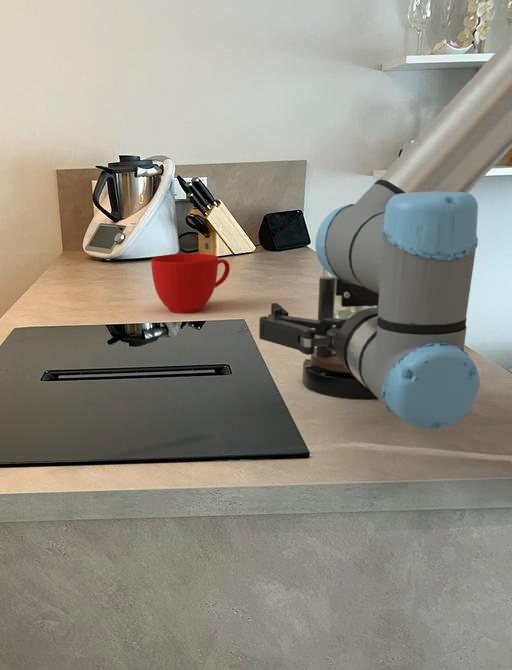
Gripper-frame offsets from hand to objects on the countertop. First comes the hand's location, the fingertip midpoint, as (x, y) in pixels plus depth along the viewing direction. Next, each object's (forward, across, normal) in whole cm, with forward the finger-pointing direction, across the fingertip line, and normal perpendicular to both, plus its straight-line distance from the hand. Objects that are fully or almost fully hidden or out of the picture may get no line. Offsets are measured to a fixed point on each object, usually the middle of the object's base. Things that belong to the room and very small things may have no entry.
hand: (326, 311), depth 100 cm
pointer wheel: (+1, +5, -7) cm, 9 cm away
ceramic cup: (+58, -11, -10) cm, 60 cm away
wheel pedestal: (+1, +5, -10) cm, 11 cm away
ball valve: (+26, +11, -10) cm, 30 cm away
